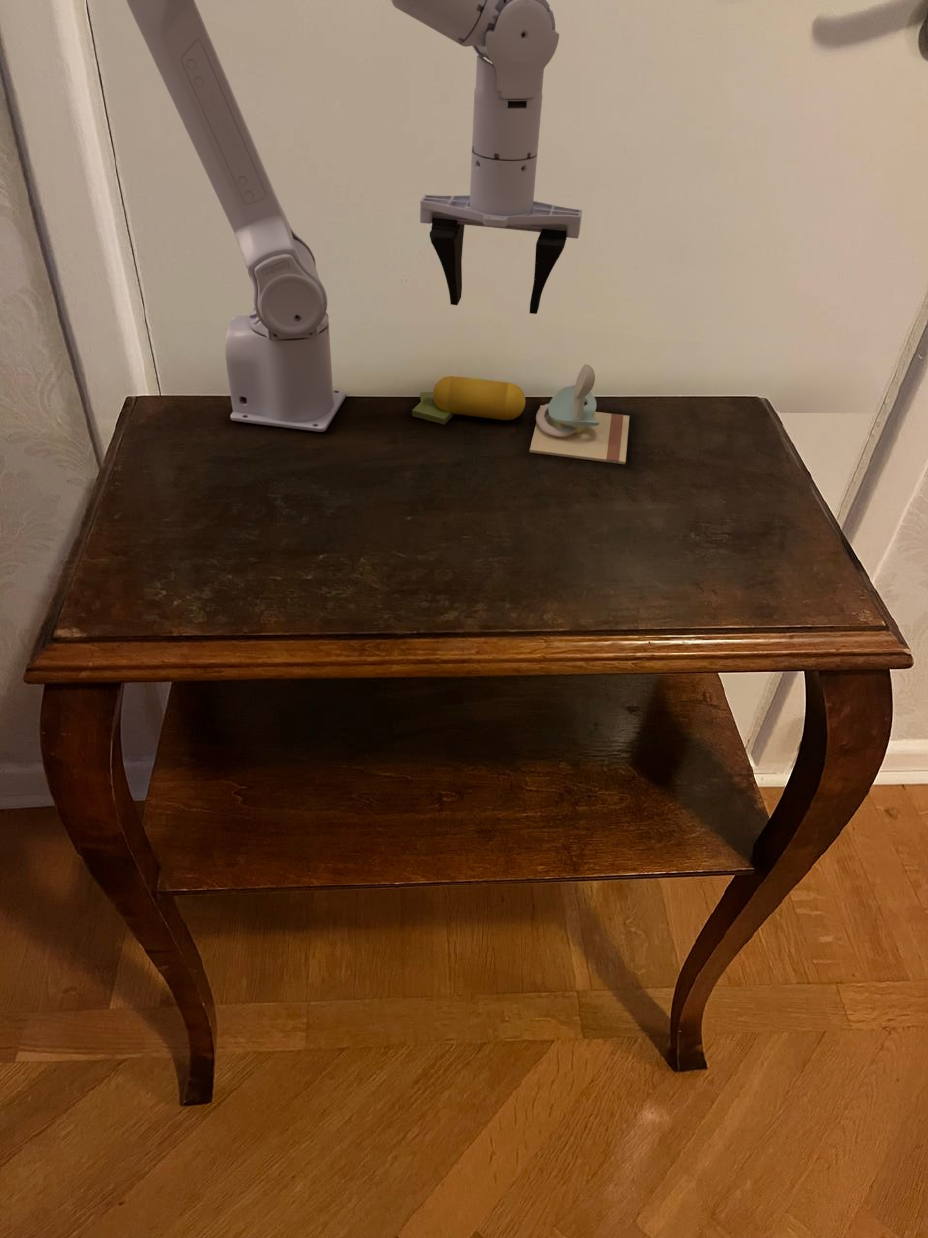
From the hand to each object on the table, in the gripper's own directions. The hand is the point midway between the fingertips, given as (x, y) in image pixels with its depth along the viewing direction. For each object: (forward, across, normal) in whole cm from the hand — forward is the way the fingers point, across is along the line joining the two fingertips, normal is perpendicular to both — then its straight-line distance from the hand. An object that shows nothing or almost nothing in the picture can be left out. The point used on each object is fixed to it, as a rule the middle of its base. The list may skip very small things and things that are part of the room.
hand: (494, 305), depth 87 cm
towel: (+9, +10, -6) cm, 15 cm away
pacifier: (+9, +8, -5) cm, 13 cm away
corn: (+9, -1, -4) cm, 10 cm away
